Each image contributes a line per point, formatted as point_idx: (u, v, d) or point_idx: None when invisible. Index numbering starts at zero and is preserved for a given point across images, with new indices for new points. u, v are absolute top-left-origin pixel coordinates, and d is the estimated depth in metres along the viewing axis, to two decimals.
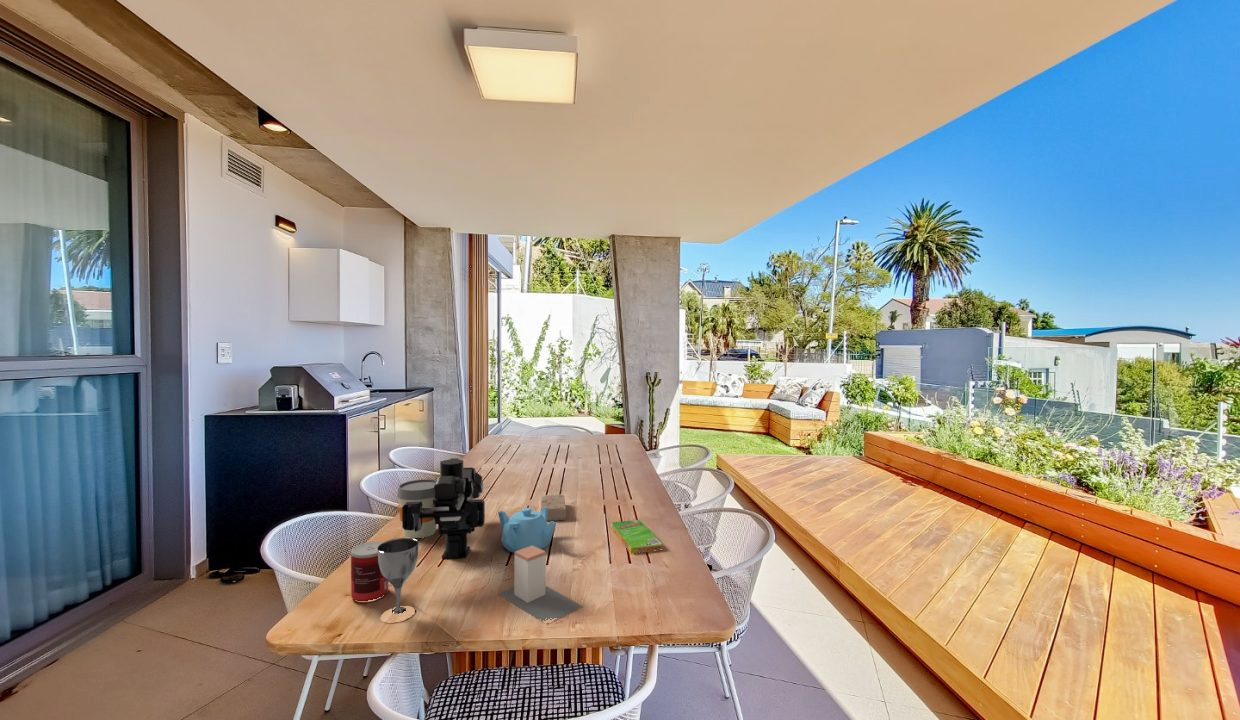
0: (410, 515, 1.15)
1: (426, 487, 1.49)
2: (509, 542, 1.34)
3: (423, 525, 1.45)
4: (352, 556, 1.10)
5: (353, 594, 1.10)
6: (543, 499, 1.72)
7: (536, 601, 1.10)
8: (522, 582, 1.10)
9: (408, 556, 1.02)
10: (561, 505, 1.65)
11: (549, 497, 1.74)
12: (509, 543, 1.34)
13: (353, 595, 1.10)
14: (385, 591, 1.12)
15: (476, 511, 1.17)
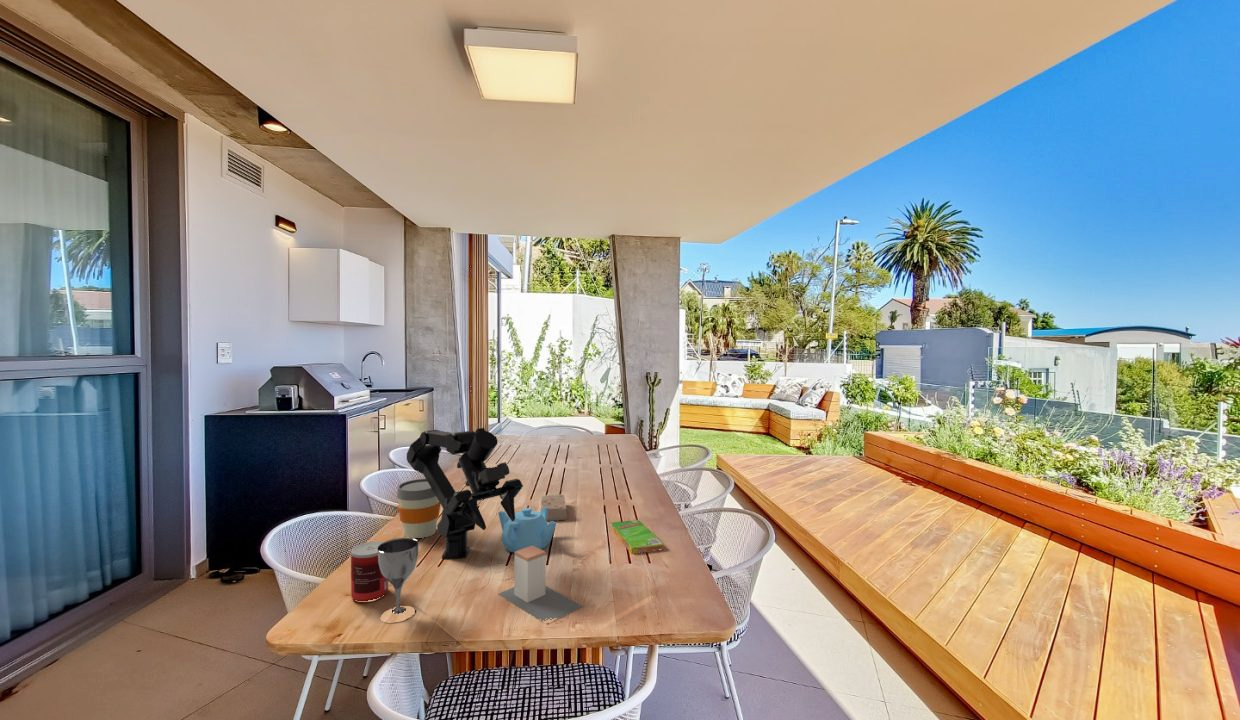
0: (466, 506, 1.18)
1: (426, 487, 1.48)
2: (509, 542, 1.34)
3: (423, 525, 1.45)
4: (352, 556, 1.10)
5: (353, 594, 1.10)
6: (543, 499, 1.72)
7: (536, 601, 1.10)
8: (522, 582, 1.10)
9: (408, 556, 1.02)
10: (561, 505, 1.65)
11: (549, 497, 1.74)
12: (509, 543, 1.34)
13: (353, 595, 1.10)
14: (385, 591, 1.12)
15: (515, 493, 1.28)
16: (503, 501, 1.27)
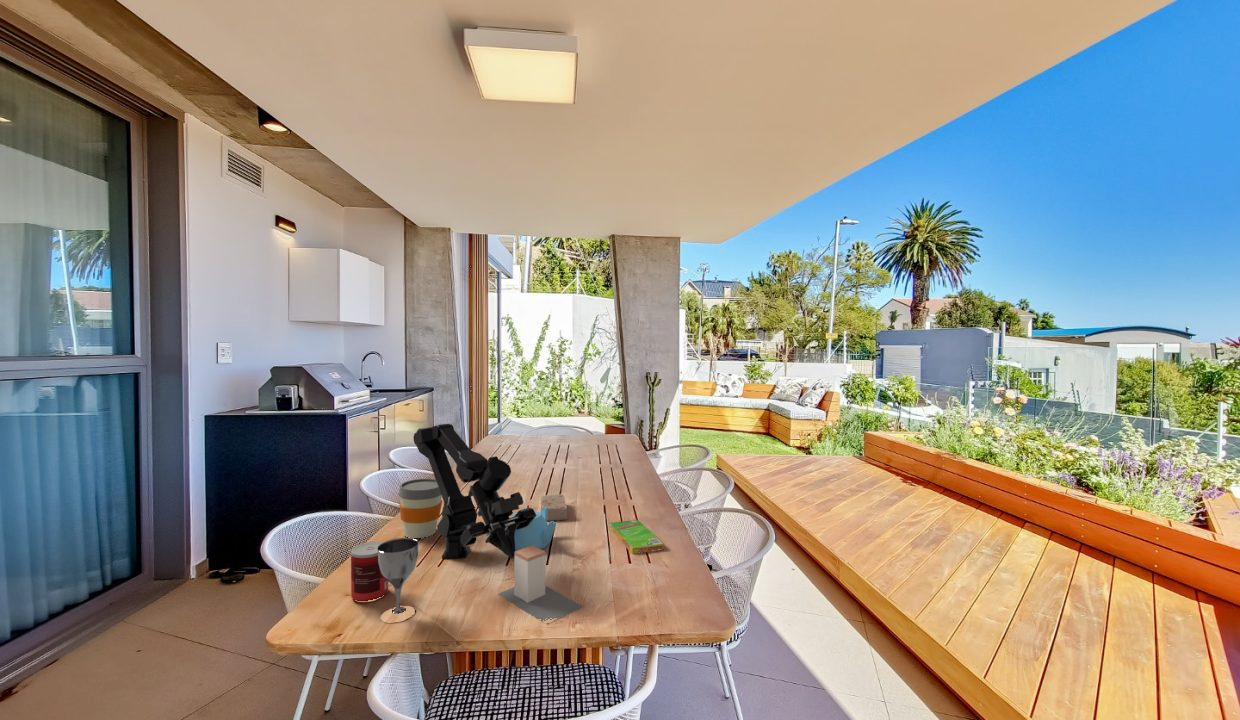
0: (493, 535, 1.17)
1: (428, 487, 1.48)
2: None
3: (422, 525, 1.45)
4: (352, 556, 1.10)
5: (353, 594, 1.10)
6: (543, 499, 1.72)
7: (536, 601, 1.10)
8: (522, 582, 1.10)
9: (408, 556, 1.02)
10: (562, 505, 1.65)
11: (549, 497, 1.74)
12: None
13: (353, 595, 1.10)
14: (385, 591, 1.12)
15: (516, 527, 1.22)
16: None
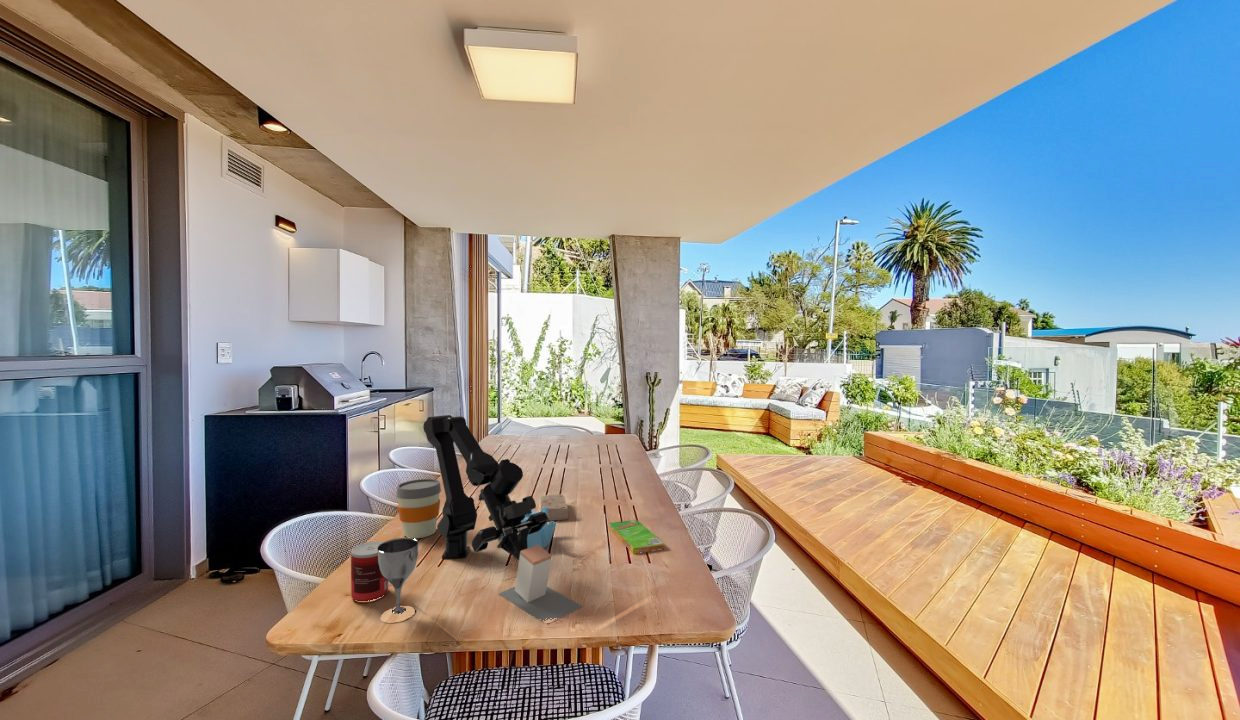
0: (506, 540, 1.14)
1: (425, 486, 1.49)
2: None
3: (421, 524, 1.45)
4: (352, 556, 1.10)
5: (353, 594, 1.10)
6: (543, 499, 1.72)
7: (536, 601, 1.10)
8: (524, 582, 1.10)
9: (408, 556, 1.02)
10: (562, 505, 1.65)
11: (549, 497, 1.74)
12: None
13: (353, 595, 1.10)
14: (385, 591, 1.12)
15: (528, 532, 1.18)
16: None
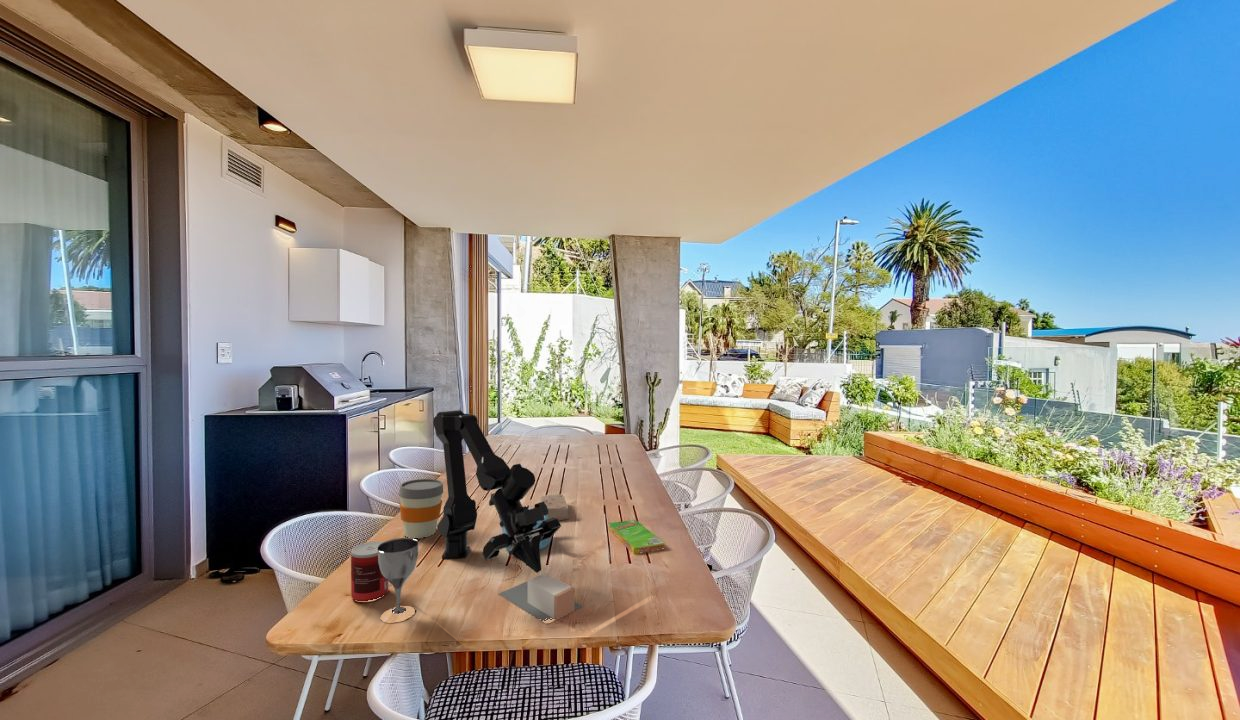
0: (518, 547, 1.11)
1: (428, 487, 1.49)
2: None
3: (421, 525, 1.45)
4: (352, 556, 1.10)
5: (353, 594, 1.10)
6: (543, 499, 1.72)
7: None
8: (538, 600, 1.06)
9: (408, 556, 1.02)
10: (563, 505, 1.65)
11: (549, 497, 1.74)
12: None
13: (353, 595, 1.10)
14: (385, 591, 1.12)
15: (540, 539, 1.15)
16: None
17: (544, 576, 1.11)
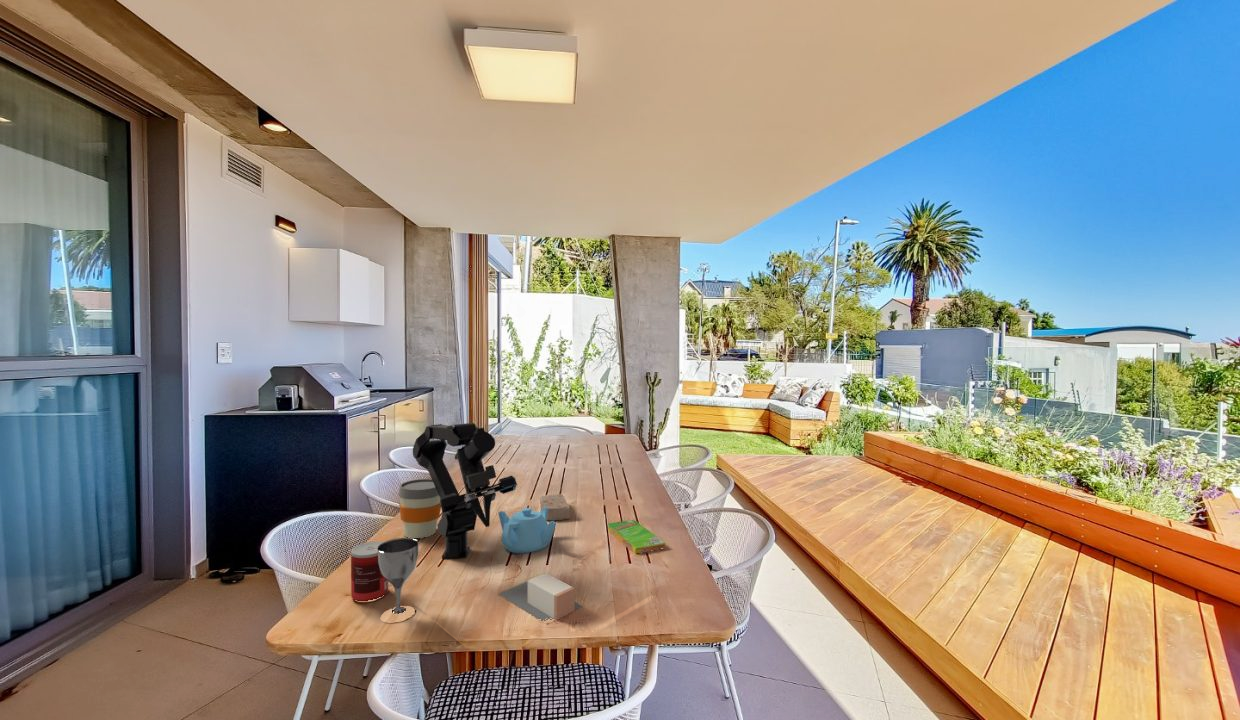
0: (469, 504, 1.22)
1: (427, 487, 1.48)
2: (509, 542, 1.34)
3: (421, 525, 1.45)
4: (352, 556, 1.10)
5: (353, 594, 1.10)
6: (543, 499, 1.72)
7: None
8: (538, 600, 1.06)
9: (408, 556, 1.02)
10: (564, 504, 1.66)
11: (549, 497, 1.74)
12: (509, 543, 1.34)
13: (353, 595, 1.10)
14: (385, 591, 1.12)
15: (494, 496, 1.25)
16: (483, 502, 1.26)
17: (544, 576, 1.11)
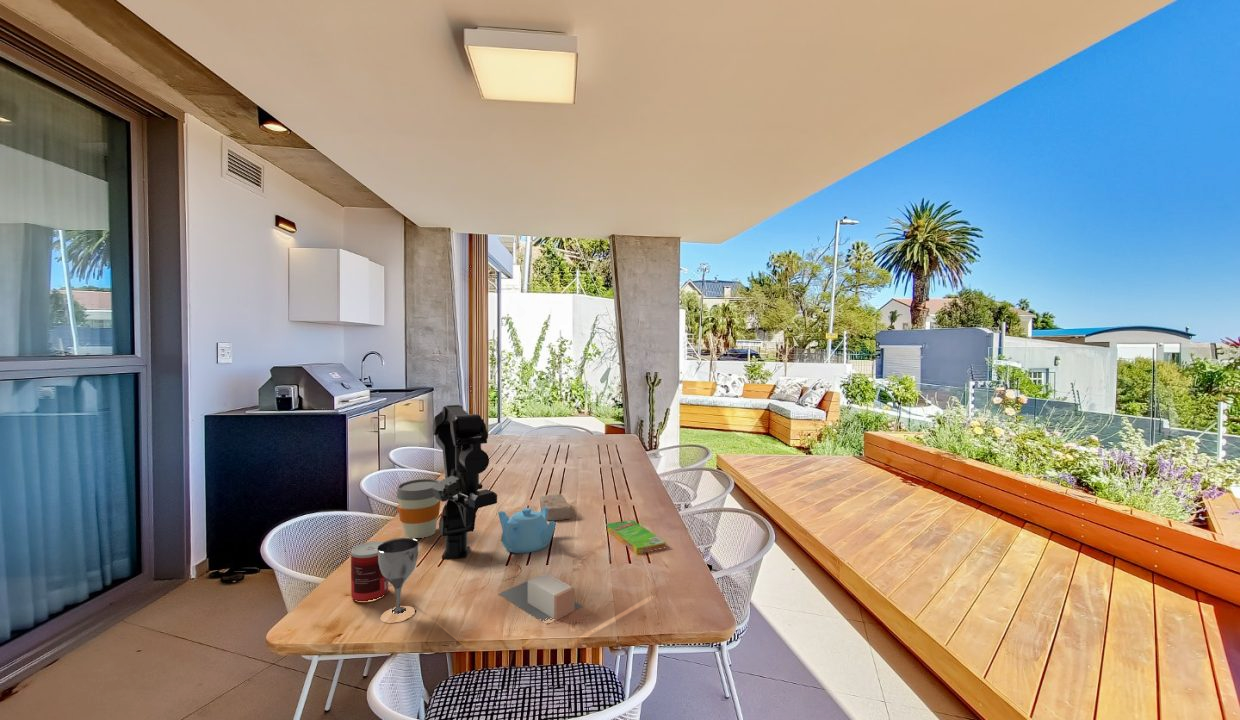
0: None
1: (425, 487, 1.48)
2: (509, 542, 1.34)
3: (419, 526, 1.45)
4: (352, 556, 1.10)
5: (353, 594, 1.10)
6: (543, 499, 1.72)
7: None
8: (538, 600, 1.06)
9: (408, 556, 1.02)
10: (565, 504, 1.66)
11: (548, 497, 1.74)
12: (509, 543, 1.34)
13: (353, 595, 1.10)
14: (385, 591, 1.12)
15: None
16: None
17: (544, 576, 1.11)
